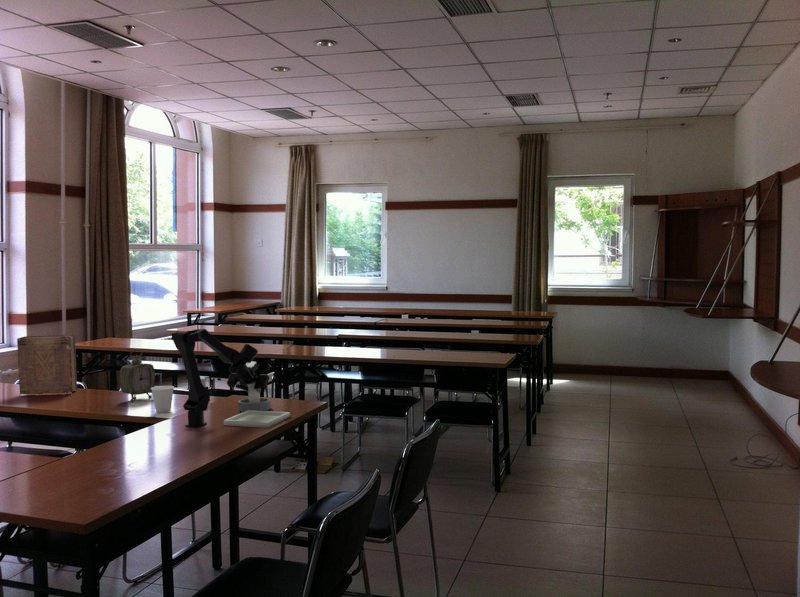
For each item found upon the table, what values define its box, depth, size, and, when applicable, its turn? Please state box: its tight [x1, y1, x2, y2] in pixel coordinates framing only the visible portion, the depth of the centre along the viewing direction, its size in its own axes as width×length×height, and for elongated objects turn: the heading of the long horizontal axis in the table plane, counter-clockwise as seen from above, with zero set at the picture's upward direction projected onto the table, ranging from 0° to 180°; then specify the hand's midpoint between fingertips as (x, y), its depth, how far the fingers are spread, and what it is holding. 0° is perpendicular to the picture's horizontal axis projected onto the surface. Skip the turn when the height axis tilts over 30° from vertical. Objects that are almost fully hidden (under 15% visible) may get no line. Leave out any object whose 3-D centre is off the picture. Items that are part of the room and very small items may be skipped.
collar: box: [238, 397, 271, 413], centre depth 316 cm, size 14×14×4 cm
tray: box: [223, 410, 291, 429], centre depth 292 cm, size 20×20×2 cm
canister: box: [247, 382, 261, 403], centre depth 316 cm, size 5×5×12 cm
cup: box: [151, 385, 175, 414], centre depth 313 cm, size 10×10×11 cm
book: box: [16, 334, 78, 395], centre depth 363 cm, size 25×9×30 cm, turn 100°
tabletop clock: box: [119, 348, 156, 403], centre depth 342 cm, size 14×9×25 cm, turn 150°
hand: (254, 391), depth 316 cm, fingers closed on canister, 5 cm apart
